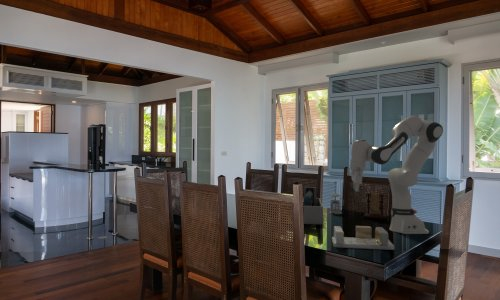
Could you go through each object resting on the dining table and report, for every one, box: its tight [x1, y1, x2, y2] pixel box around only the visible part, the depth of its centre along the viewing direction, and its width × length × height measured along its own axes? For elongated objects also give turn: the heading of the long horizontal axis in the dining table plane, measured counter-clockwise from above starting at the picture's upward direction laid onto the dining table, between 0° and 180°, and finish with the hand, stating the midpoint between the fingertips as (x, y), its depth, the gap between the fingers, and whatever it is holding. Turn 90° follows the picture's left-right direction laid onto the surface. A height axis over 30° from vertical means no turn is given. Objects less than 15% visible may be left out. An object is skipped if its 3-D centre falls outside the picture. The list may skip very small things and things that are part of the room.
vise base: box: [331, 225, 395, 251], centre depth 192 cm, size 30×14×8 cm, turn 81°
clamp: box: [303, 186, 317, 206], centre depth 263 cm, size 35×9×21 cm, turn 167°
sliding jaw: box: [374, 226, 389, 245], centre depth 191 cm, size 4×14×6 cm, turn 171°
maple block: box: [355, 225, 372, 238], centre depth 204 cm, size 4×8×7 cm, turn 82°
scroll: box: [364, 190, 387, 220], centre depth 263 cm, size 15×15×20 cm
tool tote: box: [302, 197, 324, 225], centre depth 263 cm, size 14×40×12 cm, turn 171°
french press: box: [328, 181, 345, 215], centre depth 285 cm, size 10×12×25 cm
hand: (355, 190), depth 212 cm, fingers open, 8 cm apart
